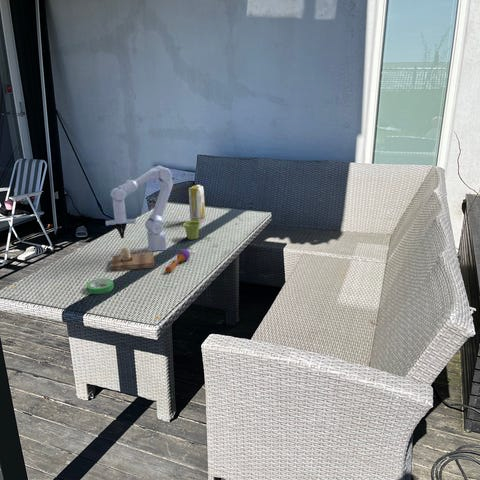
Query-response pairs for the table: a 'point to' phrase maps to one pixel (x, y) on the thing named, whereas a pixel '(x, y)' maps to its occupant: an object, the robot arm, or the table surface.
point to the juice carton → (197, 203)
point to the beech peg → (125, 254)
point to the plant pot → (192, 229)
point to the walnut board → (133, 262)
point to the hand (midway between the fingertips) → (122, 237)
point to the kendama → (178, 259)
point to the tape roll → (100, 290)
